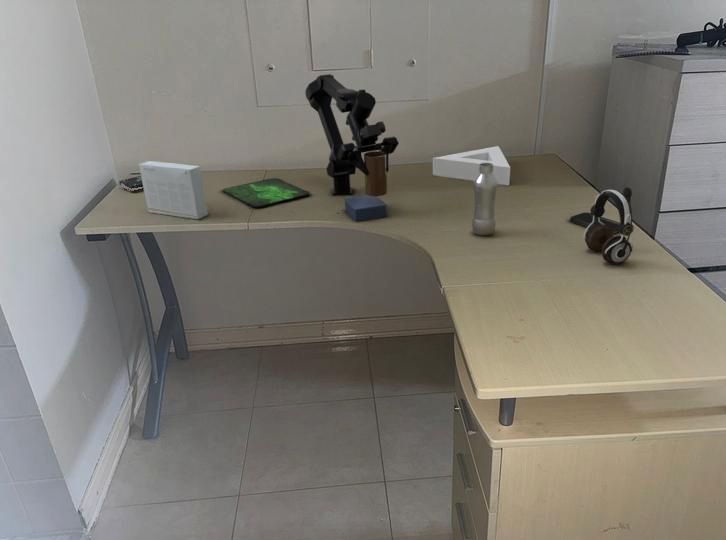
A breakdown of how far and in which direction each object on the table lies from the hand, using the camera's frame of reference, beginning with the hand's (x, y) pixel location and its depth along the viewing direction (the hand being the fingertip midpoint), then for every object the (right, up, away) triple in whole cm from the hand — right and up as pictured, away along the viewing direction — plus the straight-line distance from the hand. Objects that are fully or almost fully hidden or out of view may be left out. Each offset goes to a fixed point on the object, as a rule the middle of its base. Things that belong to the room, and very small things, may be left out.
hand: (377, 173), depth 194 cm
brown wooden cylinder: (0, -5, +4) cm, 7 cm away
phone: (+65, -17, -6) cm, 67 cm away
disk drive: (-86, +6, +42) cm, 96 cm away
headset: (+60, -29, -26) cm, 72 cm away
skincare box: (-65, -10, +14) cm, 67 cm away
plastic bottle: (+31, -20, -9) cm, 38 cm away
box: (-4, -11, +9) cm, 14 cm away
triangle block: (+33, +10, +43) cm, 55 cm away
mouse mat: (-40, 0, +30) cm, 50 cm away
